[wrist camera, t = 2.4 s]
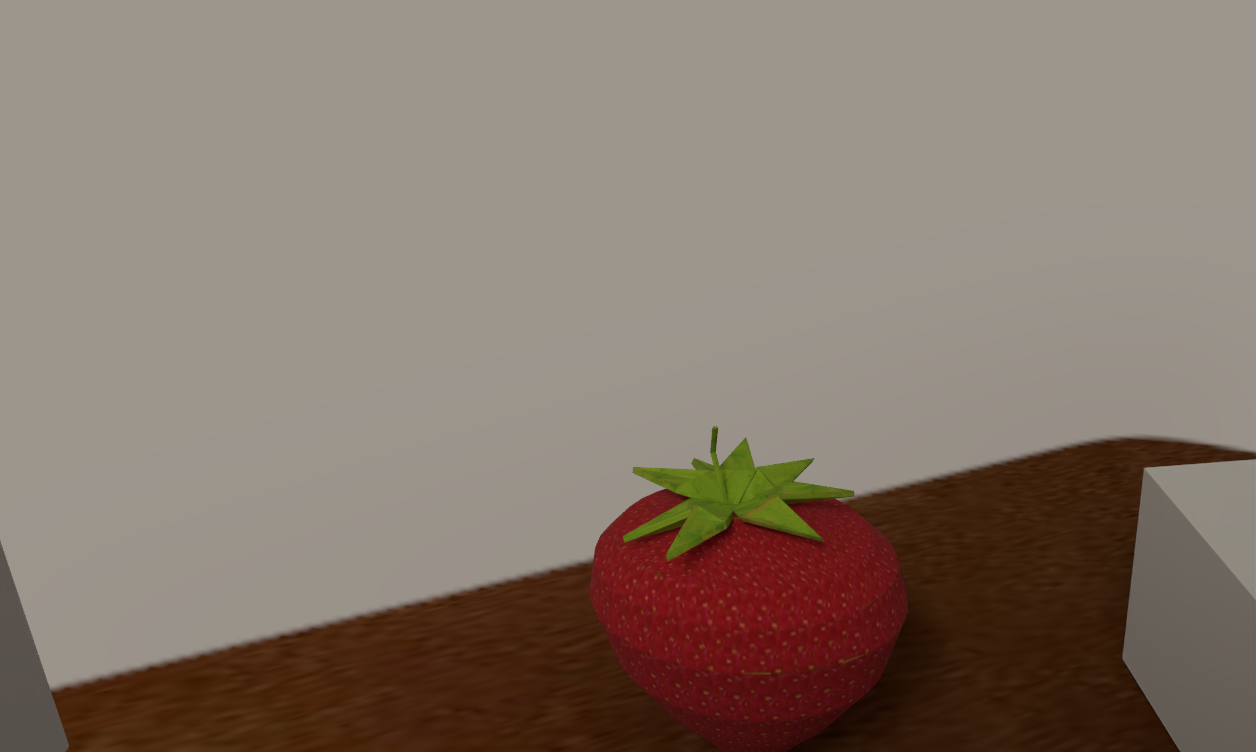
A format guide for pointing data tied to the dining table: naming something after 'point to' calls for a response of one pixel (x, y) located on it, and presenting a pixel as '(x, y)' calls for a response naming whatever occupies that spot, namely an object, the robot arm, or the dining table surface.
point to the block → (1197, 603)
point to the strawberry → (748, 600)
